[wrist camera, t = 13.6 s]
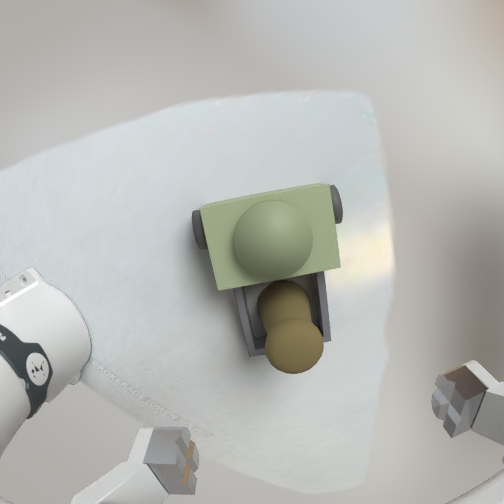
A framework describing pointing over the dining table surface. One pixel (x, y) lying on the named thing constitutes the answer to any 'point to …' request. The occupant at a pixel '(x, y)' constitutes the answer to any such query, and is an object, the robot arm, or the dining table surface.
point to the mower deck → (272, 244)
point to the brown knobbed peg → (289, 327)
